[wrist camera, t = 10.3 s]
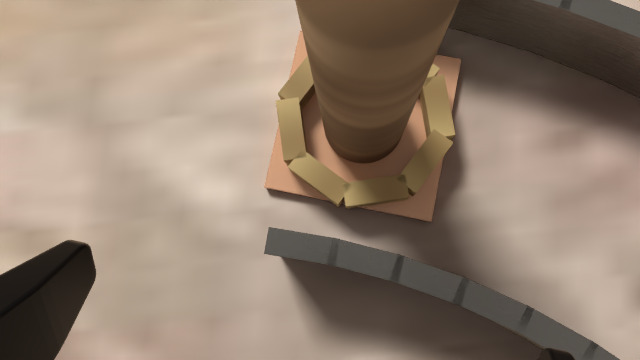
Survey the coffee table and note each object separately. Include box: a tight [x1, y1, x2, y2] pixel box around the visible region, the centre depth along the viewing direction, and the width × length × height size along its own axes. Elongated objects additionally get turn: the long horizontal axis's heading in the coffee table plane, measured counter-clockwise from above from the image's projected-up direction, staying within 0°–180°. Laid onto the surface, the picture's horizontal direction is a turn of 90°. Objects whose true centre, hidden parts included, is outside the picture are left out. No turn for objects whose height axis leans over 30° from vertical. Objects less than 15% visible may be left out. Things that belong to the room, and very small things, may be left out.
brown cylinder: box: [276, 0, 459, 209], centre depth 17 cm, size 7×7×13 cm
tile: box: [264, 31, 461, 222], centre depth 23 cm, size 8×8×1 cm
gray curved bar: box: [264, 0, 640, 360], centre depth 21 cm, size 16×21×4 cm
